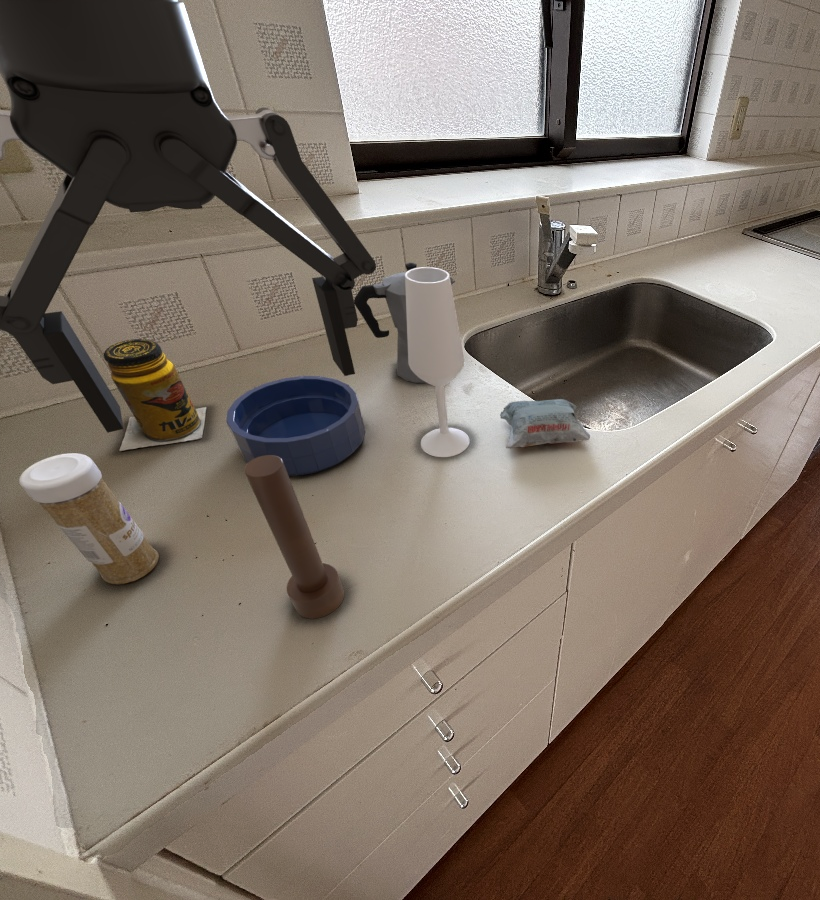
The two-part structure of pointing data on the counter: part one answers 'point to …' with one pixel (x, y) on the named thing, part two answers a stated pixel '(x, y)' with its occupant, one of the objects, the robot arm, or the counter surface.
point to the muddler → (294, 539)
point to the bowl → (298, 423)
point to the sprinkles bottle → (90, 516)
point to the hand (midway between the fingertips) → (241, 390)
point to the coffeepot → (396, 302)
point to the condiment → (152, 396)
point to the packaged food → (542, 423)
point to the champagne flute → (435, 349)
